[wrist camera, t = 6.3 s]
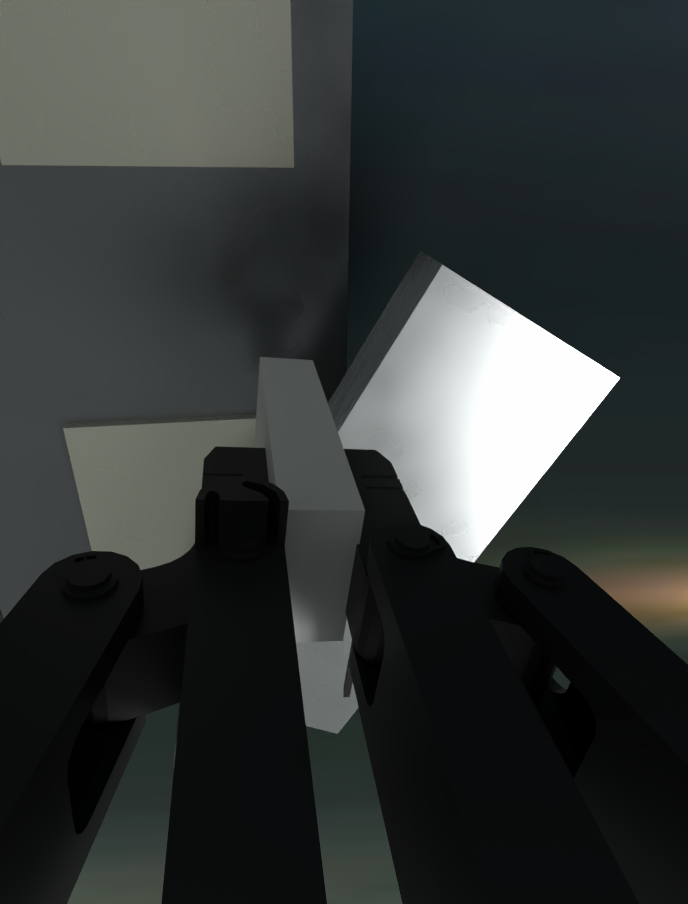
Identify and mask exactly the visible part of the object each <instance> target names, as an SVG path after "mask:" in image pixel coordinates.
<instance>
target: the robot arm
mask: <svg viewBox="0 0 688 904" xmlns="http://www.w3.org/2000/svg"><path fill="white" fill-rule="evenodd" d="M346 620H347V621H348V625H349V629H350V634H351V638H352V642H351V648H350V653H349V659H348V664H347V670H346V675H345V681H344V689H343V697H350V693H351V688H352V683H353V685H354V690H355V694H356V699H357V703H358V707H359V712H360V716H361V721H362V725H363V730H364V734H365V739H366V743H367V747H368V752H369V756H370V761H371V765H372V770H373V774H374V779H375V783H376V787H377V792H378V796H379V801H380V805H381V810H382V814H383V819H384V823H385V827H386V832H387V836H388V841H389V845H390V850H391V854H392V859H393V863H394V867H395V872H396V876H397V881H398V885H399V890H400V894H401V899H402V903H403V904H688V665H687V664H686V663H685V662H684V661H683V660H682V659H681V658H680V657H678V656H677V655H676V654H675V653H674V652H673V651H672V650H671V649H669V648H668V647H667V646H666V645H665V644H664V643H663V642H662V641H660V640H659V639H658V638H657V637H656V636H655V635H654V634H652V633H651V632H650V631H649V630H648V629H647V628H646V627H645V626H643V625H642V624H641V623H640V622H639V621H638V620H637V619H636V618H634V617H633V616H632V615H631V614H630V613H629V612H628V611H626V610H625V609H624V608H623V607H622V606H621V605H620V604H619V603H617V602H616V601H615V600H614V599H613V598H612V597H611V596H610V595H608V594H607V593H606V592H605V591H604V590H603V589H602V588H600V587H599V586H598V585H597V584H596V583H595V582H594V581H593V580H591V579H590V578H589V577H588V576H587V575H586V574H585V573H584V572H582V571H581V570H580V569H579V568H578V567H577V566H575V565H574V564H572V563H571V562H570V561H568V560H567V559H565V558H564V557H562V556H560V555H557V554H555V553H552V552H551V551H548V550H544V549H539V548H533V547H523V548H516V549H513V550H511V551H509V552H507V553H506V555H505V556H504V558H503V559H502V562H501V565H500V568H498V567H493V566H489V565H484V564H479V563H474V562H470V561H466V560H463V559H459V558H457V557H456V555H455V553H454V551H453V550H452V548H451V546H450V544H449V543H448V542H447V541H446V540H445V538H444V537H443V536H442V535H440V534H438V533H437V532H435V531H434V530H432V529H431V528H428V527H425V526H422V525H421V524H420V522H419V520H418V518H417V516H416V514H415V512H414V509H413V507H412V505H411V503H410V501H409V499H408V497H407V495H406V493H405V490H403V486H402V484H401V482H400V480H399V479H398V476H397V474H396V471H395V469H394V467H393V465H392V463H391V462H390V461H389V460H388V459H387V458H385V457H384V456H383V455H382V454H380V453H379V452H378V451H377V450H366V449H343V446H342V443H341V440H340V437H339V434H338V431H337V428H336V426H335V423H334V420H333V417H332V414H331V411H330V408H329V405H328V403H327V400H326V397H325V394H324V391H323V388H322V385H321V383H320V380H319V377H318V374H317V371H316V368H315V365H314V362H313V360H302V359H287V358H271V357H260V363H259V379H258V395H257V411H256V428H255V444H254V448H250V447H219V446H215V447H214V449H213V450H212V451H211V452H210V453H209V454H208V455H207V456H206V457H205V458H204V464H203V477H202V489H201V490H200V491H199V493H198V495H197V497H196V499H195V544H194V545H193V546H192V548H191V549H190V550H189V551H188V552H186V553H185V554H184V555H183V556H181V557H179V558H177V559H176V560H174V561H172V562H169V563H166V564H163V565H160V566H156V567H152V568H148V569H143V570H140V568H139V565H138V564H137V563H135V562H134V561H133V560H131V559H130V558H129V557H128V556H125V555H121V554H118V553H115V552H111V551H89V552H84V553H79V554H74V555H71V556H69V557H67V558H64V559H62V560H60V561H58V562H55V563H54V564H52V565H51V566H50V567H49V568H48V569H47V570H45V571H44V572H43V573H42V574H41V575H40V576H39V577H38V578H37V580H36V581H35V582H34V583H33V584H32V586H31V587H30V588H29V589H28V590H27V592H26V593H25V594H24V595H23V596H22V598H21V599H20V600H19V601H18V603H17V604H16V605H15V606H14V607H13V609H12V610H11V611H10V612H9V613H8V615H7V616H6V617H5V618H4V619H3V621H2V622H1V623H0V904H67V902H68V900H69V897H70V895H71V893H72V890H73V888H74V886H75V883H76V881H77V879H78V877H79V874H80V872H81V870H82V867H83V865H84V863H85V860H86V858H87V856H88V854H89V851H90V849H91V847H92V844H93V842H94V840H95V837H96V835H97V833H98V830H99V828H100V826H101V824H102V821H103V819H104V817H105V814H106V812H107V810H108V807H109V805H110V803H111V800H112V798H113V796H114V794H115V791H116V789H117V787H118V784H119V782H120V780H121V777H122V775H123V773H124V770H125V768H126V766H127V764H128V761H129V759H130V757H131V754H132V752H133V750H134V747H135V745H136V743H137V740H138V738H139V736H140V734H141V731H142V729H143V727H144V724H145V722H146V717H147V713H150V712H153V711H156V710H159V709H162V708H165V707H168V706H170V705H173V704H176V703H179V702H180V712H179V723H178V733H177V744H176V755H175V766H174V776H173V787H172V798H171V808H170V819H169V830H168V841H167V851H166V862H165V873H164V884H163V894H162V904H327V901H326V893H325V884H324V876H323V867H322V859H321V850H320V842H319V833H318V825H317V816H316V808H315V799H314V791H313V783H312V774H311V766H310V757H309V749H308V740H307V732H306V723H305V715H304V706H303V698H302V689H301V681H300V672H299V664H298V655H297V647H296V642H325V641H343V637H344V631H345V625H346ZM557 667H558V668H559V669H560V671H561V672H562V673H563V674H564V675H565V676H566V677H567V678H568V679H569V681H570V682H571V683H570V685H569V687H568V689H564V688H562V687H561V686H560V685H559V684H558V683H557V682H556V681H555V680H554V679H553V678H552V677H553V675H554V672H555V670H556V668H557Z"/></svg>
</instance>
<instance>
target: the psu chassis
mask: <svg viewBox="0 0 688 904" xmlns="http://www.w3.org/2000/svg"><path fill="white" fill-rule="evenodd" d="M352 29H353V0H0V609H1V612H2V615H3V618H5V617H6V616H7V615H8V613H9V612H10V611H11V610H12V609H13V607H14V606H15V605H16V604H17V603H18V601H19V600H20V599H21V598H22V596H23V595H24V594H25V593H26V592H27V590H28V589H29V588H30V587H31V586H32V584H33V583H34V582H35V581H36V580H37V578H38V577H39V576H40V575H41V574H42V573H43V572H44V571H45V570H47V569H48V568H49V567H50V566H51V565H52V564H54V563H55V562H58V561H60V560H62V559H64V558H67V557H69V556H71V555H74V554H79V553H84V552H89V551H111V552H115V553H118V554H121V555H125V556H128V557H129V558H130V559H131V560H133V561H134V562H135V563H137V564H138V565H139V568H140V570H143V569H148V568H152V567H156V566H160V565H163V564H166V563H169V562H172V561H174V560H176V559H177V558H179V557H181V556H183V555H184V554H185V553H186V552H188V551H189V550H190V549H191V548H192V546H193V545H194V544H195V499H196V497H197V495H198V493H199V491H200V490H201V489H202V477H203V464H204V458H205V457H206V456H207V455H208V454H209V453H210V452H211V451H212V450H213V449H214V447H215V446H219V447H250V448H254V444H255V428H256V411H257V395H258V379H259V363H260V357H271V358H287V359H302V360H313V362H314V365H315V368H316V371H317V374H318V377H319V380H320V383H321V385H322V388H323V391H324V394H325V397H326V400H327V403H328V402H329V400H330V399H331V397H332V395H333V394H334V392H335V390H336V389H337V387H338V386H339V384H340V382H341V381H342V379H343V377H344V376H345V374H346V362H347V307H348V251H349V195H350V140H351V84H352Z"/></svg>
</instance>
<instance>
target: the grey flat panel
mask: <svg viewBox="0 0 688 904" xmlns="http://www.w3.org/2000/svg"><path fill="white" fill-rule="evenodd" d="M619 379H620V378H619V377H618V376H616V375H615V374H613V373H612V372H610V371H609V370H607V369H605V368H604V367H602V366H601V365H599V364H598V363H596V362H595V361H593V360H591V359H590V358H588V357H587V356H585V355H584V354H582V353H580V352H579V351H577V350H576V349H574V348H573V347H571V346H569V345H568V344H566V343H565V342H563V341H562V340H560V339H558V338H557V337H555V336H554V335H552V334H551V333H549V332H547V331H546V330H544V329H543V328H541V327H540V326H538V325H536V324H535V323H533V322H532V321H530V320H529V319H527V318H525V317H524V316H522V315H521V314H519V313H518V312H516V311H514V310H513V309H511V308H510V307H508V306H507V305H505V304H503V303H502V302H500V301H499V300H497V299H496V298H494V297H492V296H491V295H489V294H488V293H486V292H485V291H483V290H481V289H480V288H478V287H477V286H475V285H474V284H472V283H470V282H469V281H467V280H466V279H464V278H463V277H461V276H459V275H458V274H456V273H455V272H453V271H452V270H450V269H448V268H447V267H445V266H444V265H442V264H440V263H439V262H437V261H436V260H434V259H433V258H431V257H429V256H428V255H426V254H425V253H423V252H422V251H419V253H418V255H417V256H416V258H415V260H414V261H413V263H412V265H411V266H410V268H409V270H408V271H407V273H406V275H405V276H404V278H403V280H402V281H401V283H400V285H399V286H398V288H397V290H396V291H395V293H394V294H393V296H392V298H391V299H390V301H389V303H388V304H387V306H386V308H385V309H384V311H383V313H382V314H381V316H380V318H379V319H378V321H377V323H376V324H375V326H374V328H373V329H372V331H371V333H370V334H369V336H368V338H367V339H366V341H365V342H364V344H363V346H362V347H361V349H360V351H359V352H358V354H357V356H356V357H355V359H354V361H353V362H352V364H351V366H350V367H349V369H348V371H347V372H346V374H345V376H344V377H343V379H342V381H341V382H340V384H339V386H338V387H337V389H336V390H335V392H334V394H333V395H332V397H331V399H330V400H329V402H328V405H329V408H330V411H331V414H332V417H333V420H334V423H335V426H336V428H337V431H338V434H339V437H340V440H341V443H342V446H343V449H366V450H377V451H378V452H379V453H380V454H382V455H383V456H384V457H385V458H387V459H388V460H389V461H390V462H391V463H392V465H393V467H394V469H395V471H396V474H397V476H398V479H399V480H400V482H401V484H402V486H403V490H405V493H406V495H407V497H408V499H409V501H410V503H411V505H412V507H413V509H414V512H415V514H416V516H417V518H418V520H419V522H420V524H421V525H422V526H425V527H428V528H431V529H432V530H434V531H435V532H437V533H438V534H440V535H442V536H443V537H444V538H445V540H446V541H447V542H448V543H449V544H450V546H451V548H452V550H453V551H454V553H455V555H456V557H457V558H459V559H463V560H466V561H470V562H474V561H475V560H476V559H477V557H478V556H479V555H480V554H481V552H482V551H483V550H484V549H485V547H486V546H487V545H488V544H489V542H490V541H491V540H492V539H493V537H494V536H495V535H496V534H497V532H498V531H499V530H500V529H501V527H502V526H503V525H504V523H505V522H506V521H507V520H508V518H509V517H510V516H511V515H512V513H513V512H514V511H515V510H516V508H517V507H518V506H519V505H520V503H521V502H522V501H523V500H524V498H525V497H526V496H527V495H528V493H529V492H530V491H531V489H532V488H533V487H534V486H535V484H536V483H537V482H538V481H539V479H540V478H541V477H542V476H543V474H544V473H545V472H546V471H547V469H548V468H549V467H550V466H551V464H552V463H553V462H554V461H555V459H556V458H557V457H558V455H559V454H560V453H561V452H562V450H563V449H564V448H565V447H566V445H567V444H568V443H569V442H570V440H571V439H572V438H573V437H574V435H575V434H576V433H577V432H578V430H579V429H580V428H581V427H582V425H583V424H584V423H585V421H586V420H587V419H588V418H589V416H590V415H591V414H592V413H593V411H594V410H595V409H596V408H597V406H598V405H599V404H600V403H601V401H602V400H603V399H604V398H605V396H606V395H607V394H608V393H609V391H610V390H611V389H612V387H613V386H614V385H615V384H616V382H617V381H618V380H619ZM351 642H352V638H351V634H350V629H349V625H348V621H347V620H346V625H345V631H344V637H343V641H325V642H296V647H297V655H298V664H299V672H300V681H301V689H302V698H303V706H304V715H305V723H306V726H309V727H313V728H317V729H321V730H325V731H329V732H333V733H336V734H338V732H339V731H340V730H341V729H342V727H343V726H344V725H345V724H346V722H347V721H348V720H349V719H350V717H351V716H352V715H353V714H354V712H355V711H356V710H357V709H358V703H357V699H356V694H355V690H354V685H353V683H352V688H351V693H350V697H343V689H344V681H345V675H346V670H347V664H348V659H349V653H350V648H351ZM179 712H180V703H179ZM178 723H179V713H178V722H177V732H176V741H175V751H174V760H173V764H174V766H175V755H176V744H177V733H178Z"/></svg>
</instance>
